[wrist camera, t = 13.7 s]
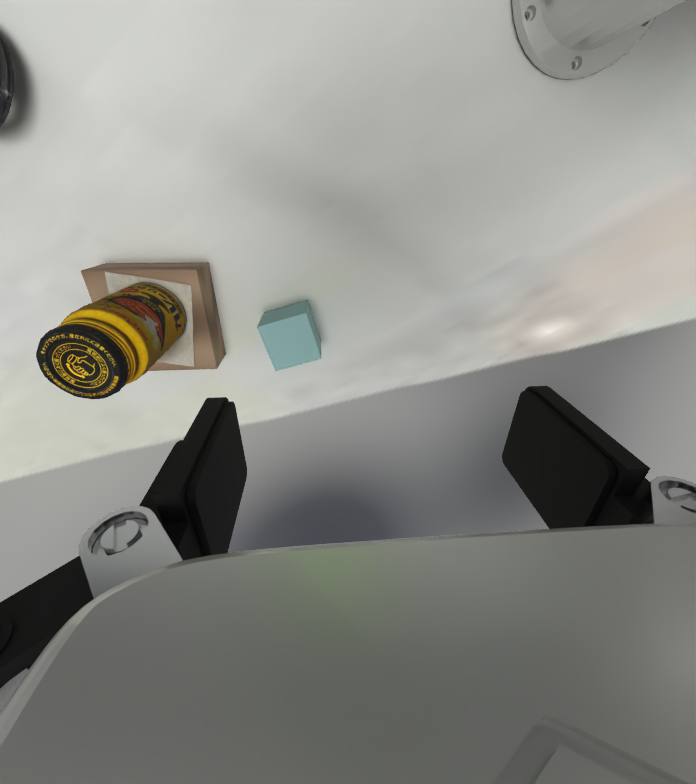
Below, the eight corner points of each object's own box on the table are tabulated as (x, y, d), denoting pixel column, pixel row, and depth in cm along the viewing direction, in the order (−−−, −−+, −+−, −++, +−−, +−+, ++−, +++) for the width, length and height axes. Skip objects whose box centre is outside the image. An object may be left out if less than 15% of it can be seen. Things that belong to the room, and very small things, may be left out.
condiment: (191, 284, 31) (129, 326, 21) (194, 366, 35) (144, 435, 25) (105, 270, 30) (-5, 308, 20) (119, 356, 34) (33, 425, 24)
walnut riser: (105, 263, 34) (81, 270, 30) (208, 262, 34) (196, 269, 31) (136, 356, 38) (118, 371, 35) (225, 353, 39) (216, 368, 36)
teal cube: (264, 312, 37) (257, 327, 33) (307, 299, 37) (306, 313, 33) (280, 352, 40) (275, 371, 35) (320, 341, 39) (321, 358, 35)
